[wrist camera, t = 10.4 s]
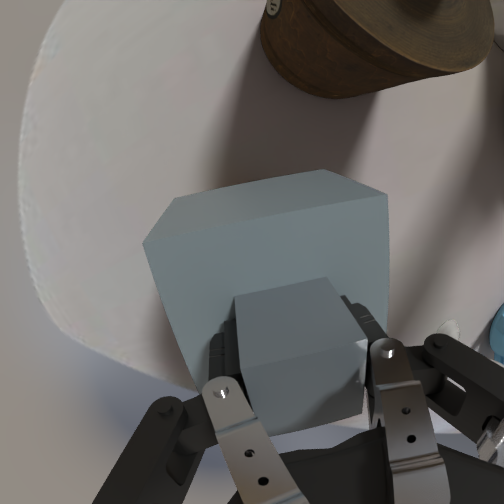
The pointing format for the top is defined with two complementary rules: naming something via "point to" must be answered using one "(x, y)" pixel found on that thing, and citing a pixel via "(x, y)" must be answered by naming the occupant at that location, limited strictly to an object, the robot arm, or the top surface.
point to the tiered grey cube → (278, 288)
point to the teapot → (498, 336)
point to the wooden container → (373, 42)
